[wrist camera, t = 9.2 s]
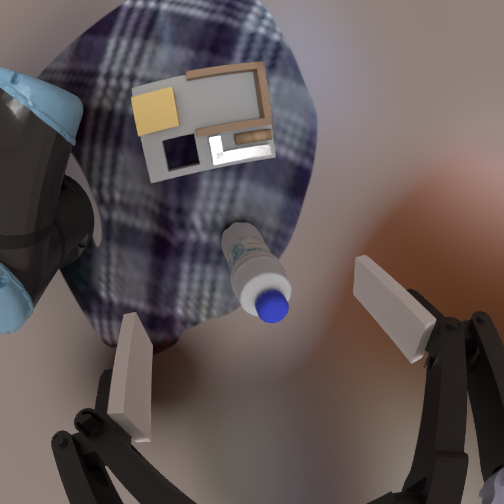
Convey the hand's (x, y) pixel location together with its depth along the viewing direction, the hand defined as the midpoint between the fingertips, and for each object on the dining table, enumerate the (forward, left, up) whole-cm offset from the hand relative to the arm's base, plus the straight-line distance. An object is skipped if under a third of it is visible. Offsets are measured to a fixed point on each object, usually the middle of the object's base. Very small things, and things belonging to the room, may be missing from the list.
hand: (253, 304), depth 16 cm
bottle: (+3, -9, -29) cm, 30 cm away
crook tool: (+5, +6, -27) cm, 28 cm away
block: (-5, +13, -27) cm, 30 cm away
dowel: (+7, +7, -27) cm, 28 cm away
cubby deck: (+1, +10, -29) cm, 30 cm away
